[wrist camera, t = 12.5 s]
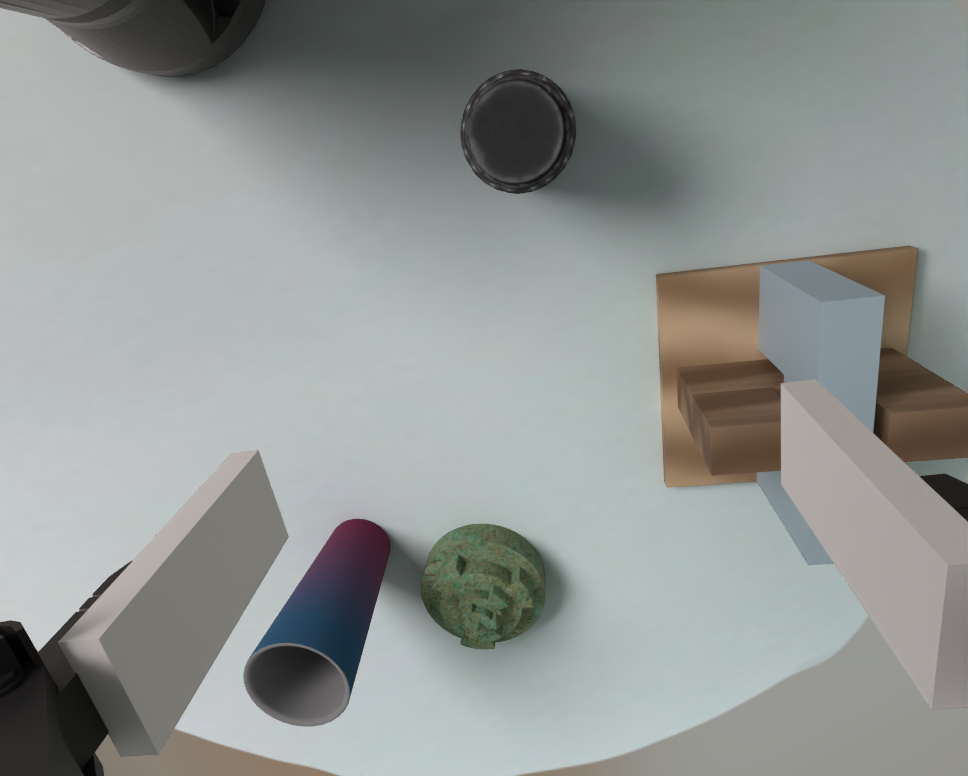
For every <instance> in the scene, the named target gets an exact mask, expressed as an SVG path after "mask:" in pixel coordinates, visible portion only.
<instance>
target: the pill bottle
mask: <svg viewBox="0 0 968 776" xmlns="http://www.w3.org/2000/svg"><path fill="white" fill-rule="evenodd" d="M575 125H576V124H575V117H574V113H573V110H572V107H571V105H570V102H569V101H568V99H567V97H566V95H565V94H564V92H563V91H562V90H561V88H559V87H558V86H557V85H556V84H555V83H554V82H553V81H551V80H550V79H548V78H547V77H545V76H544V75H541V74H539V73H536V72H533V71H527V70H522V69H520V70H511V71H506V72H502V73H499V74H497V75H495V76H493V77H491V78H489V79H488V80H487V81H486V82H484V83H483V84H482V85H481V86H479V88H478V89H477V90H476V91H475V93H474V94H473V95H472V97H471V98H470V100H469V102H468V104H467V106H466V108H465V111H464V114H463V119H462V125H461V142H462V148H463V151H464V155H465V157H466V159H467V161H468V163H469V165H470V166H471V168H472V170H473V171H474V173H475V174H476V175H477V176H478V177H479V178H480V179H481V180H482V181H483V182H484V183H486V184H488V185H490V186H491V187H493V188H495V189H497V190H501V191H505V192H508V193H514V194H516V193H517V194H520V193H526V192H532V191H535V190H537V189H539V188H542V187H544V186H546V185H547V184H549V183H550V182H551V181H553V180H554V179H555V178H556V177H557V176H558V175H559V173H560V172H561V171H562V170H563V169H564V168H565V166H566V164H567V162H568V160H569V159H570V157H571V155H572V151H573V147H574V143H575V137H576V126H575Z"/></svg>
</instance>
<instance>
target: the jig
mask: <svg viewBox="0 0 968 776" xmlns="http://www.w3.org/2000/svg"><path fill="white" fill-rule="evenodd" d="M917 252H918V248H915V247H912V246H903V247H894V248H885V249H876V250H867V251H859V252H850V253H841V254H832V255H823V256H814V257H805V258H797V259H788V260H779V261H770V262H761V263H752V264H743V265H735V266H726V267H717V268H708V269H699V270H690V271H681V272H673V273H664V274H656V283H657V308H658V334H659V359H660V385H661V410H662V436H663V461H664V482H665V485H666V487H681V486H696V485H710V484H725V483H739V482H753V481H757V472H771V471H781V383H784V374H783V373H782V372H781V371H780V370H779V369H778V368H777V367H776V366H775V365H774V364H773V363H772V362H771V361H770V360H769V359H768V358H767V357H766V356H765V355H764V354H763V353H762V352H761V351H760V350H759V295H760V266H762V265H770V264H779V263H788V262H797V261H805V260H809V261H812V262H814V263H816V264H818V265H820V266H822V267H824V268H827V269H829V270H831V271H833V272H835V273H837V274H840V275H842V276H844V277H846V278H848V279H850V280H853V281H855V282H857V283H859V284H861V285H863V286H866V287H868V288H870V289H872V290H874V291H876V292H878V293H881V294H883V295H885V301H884V313H883V325H882V336H881V348H880V359H879V371H878V383H877V394H876V406H875V418H874V429H873V434H875V435H876V436H877V437H878V438H879V439H880V440H881V441H882V442H883V443H884V444H885V445H886V446H887V447H888V448H889V449H891V450H892V451H893V452H894V453H895V454H896V455H897V456H898V457H899V458H900V459H901V460H902V461H903V462H911V461H925V460H939V459H953V458H967V457H968V393H966V392H964V391H963V390H961V389H959V388H958V387H956V386H954V385H953V384H951V383H949V382H948V381H946V380H944V379H943V378H941V377H939V376H938V375H936V374H934V373H933V372H931V371H930V370H928V369H926V368H925V367H923V366H921V365H920V364H918V363H916V362H915V361H913V360H911V359H910V358H908V357H907V348H908V338H909V329H910V319H911V310H912V300H913V290H914V281H915V271H916V262H917Z"/></svg>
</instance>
